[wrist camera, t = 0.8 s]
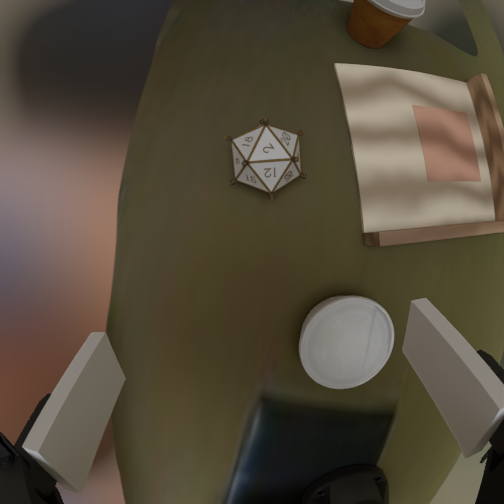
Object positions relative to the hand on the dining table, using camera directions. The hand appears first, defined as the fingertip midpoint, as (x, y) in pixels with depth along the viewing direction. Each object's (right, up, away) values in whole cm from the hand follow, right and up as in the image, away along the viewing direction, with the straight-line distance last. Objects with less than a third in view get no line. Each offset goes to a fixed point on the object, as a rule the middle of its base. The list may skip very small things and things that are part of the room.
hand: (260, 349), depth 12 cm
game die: (+1, +14, +23) cm, 27 cm away
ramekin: (+10, -6, +24) cm, 27 cm away
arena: (+25, +18, +23) cm, 38 cm away
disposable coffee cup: (+17, +37, +22) cm, 46 cm away
